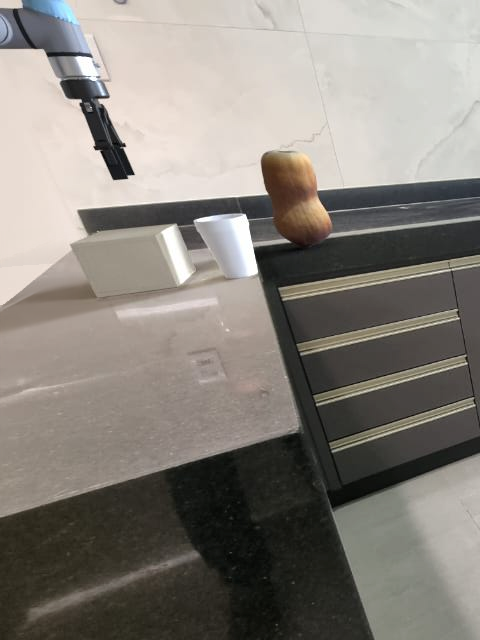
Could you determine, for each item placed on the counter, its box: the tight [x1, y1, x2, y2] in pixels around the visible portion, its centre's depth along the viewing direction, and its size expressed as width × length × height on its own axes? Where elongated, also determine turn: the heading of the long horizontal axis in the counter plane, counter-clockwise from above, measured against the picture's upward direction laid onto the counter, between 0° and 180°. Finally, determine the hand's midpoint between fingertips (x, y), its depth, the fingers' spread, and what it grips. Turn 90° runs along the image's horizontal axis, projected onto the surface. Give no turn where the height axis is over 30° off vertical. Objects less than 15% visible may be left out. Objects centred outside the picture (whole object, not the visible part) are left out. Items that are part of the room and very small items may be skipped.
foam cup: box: [193, 213, 258, 280], centre depth 119 cm, size 10×9×13 cm
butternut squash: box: [260, 149, 333, 250], centre depth 141 cm, size 14×13×25 cm
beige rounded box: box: [69, 223, 197, 299], centre depth 116 cm, size 15×14×11 cm
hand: (124, 177), depth 129 cm, fingers open, 13 cm apart
